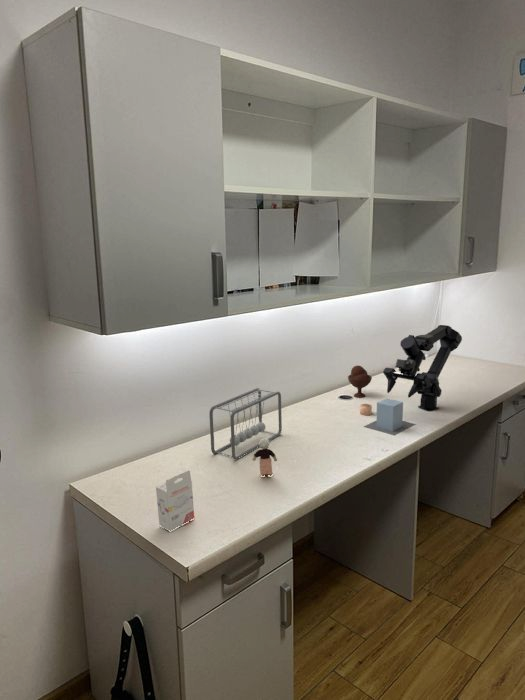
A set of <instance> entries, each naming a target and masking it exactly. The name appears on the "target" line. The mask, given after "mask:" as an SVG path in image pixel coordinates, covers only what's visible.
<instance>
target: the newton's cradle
mask: <svg viewBox="0 0 525 700" xmlns="http://www.w3.org/2000/svg"><path fill="white" fill-rule="evenodd" d="M262 392H266V394H265V395H263V394H262ZM255 394H257V396H258V397H257V398H256V397H255ZM252 395H253V396H252ZM251 396H252V398H254V400H249V397H251ZM275 396H277V397H278V398H277V401H278V402H277V403H278V404H277V405H278V408H277V409H278V413H277V414H278V431H277V433H274V432H270V431H266V427H267V426H266V424H265V423H264V422H263V420H262V419H263V413H264V411H263V410H264V409H263V407H262V406H264V404H265V401H267V400H268V399H270V398H272V397H275ZM245 398H247V401H248V402H247V403H243V400H244V401H246V399H245ZM240 400H241V402H242V403H241V405H240V406H237V405H236V403H238V404H240V402H238V401H240ZM233 403H234V405H232V404H233ZM226 406H227V407H228V408H230V406H233V407H235V408H233V409H226V408H224V407H226ZM253 406H255V407H256V409H258V410H256V411H255V415H257V417H258V422H257V423H255V424H254V422H256V419H257V417H255V418H254V419H255V421H254V422H253V420H251V419H253V416H252V407H253ZM215 409H217V410H223V411H225V412H226V411H227V412H229V414H230V415H229V417H230V438H229V443H228V444H226V445H224V446H222V447H220V448H218V449H217V450H215V434H214V410H215ZM248 409H249V411H250V414H249V417H250V419H249V420H248V421H249V422H248V424H250V421H251V423H252V425H251V426H248V427H247V424H245V426H246V428H245V429H243V428H244V427H240V426H241V425H240V424H238V425H236V427H235V415H236V416H237V417H236V418H237V421H236V423H240V420H239V413H240V412H242V411H243V418H246V410H248ZM208 413H209V431H210V435H209V436H210V451H211V453H212V454H213V455H216V454H215V453H217V454H219V453H220V454H219V455H223V454H224V455H223V456H226V455H227V457H230V456H231V458H232V459H233V460H234V459H237V460H239V459H240V458H239V457H241V456H243V455H244V454H246V453H248V452H250V451H251V452H253V451H255V450H256V448H257V447H258V448H260V447H259V443H257V444H255V445H254V446H252V447H251V448H249V449H247V450H245V451H243V452H242V453H240V454H238V455H236V446H237V447H238V445H240V444H241V443H245V441H246V440H249V439H251V438H253V436H257V435H258V434H259V433H267V434H271V435H272V436H270V437H268V438H267V439H268V440H269V442H271V441H273V440H274V439H276V438H277V436H278V437H279V436H280V435H281V434H282V429H283V428H282V426H283V425H282V419H283V418H282V394H281V392H280V391H270V390H267V389H266V390H265V389H261V388H259V387H256V388H253V389H251V390H249V391H246V392H244V393H241V394H239V395H237V396H234V397H232V398H229V399H227V400H224V401H222V402H220V403H217V404H215V405H213V406H211V407H210V409H209V412H208ZM246 420H247V419H243V422H242V424H244V421H245V423H247V421H246ZM238 427H239V428H242V430H241V429H239V432H238V433H235V431H237V429H238ZM275 437H276V438H275ZM273 438H274V439H273ZM270 440H271V441H270ZM231 445H232V446H231ZM229 446H230V447H231V454H226V453H223V452H222V451H221V450H223V449H225V448H226V449H228V448H230V447H229ZM227 447H228V448H227ZM258 448H257V449H258ZM226 449H225V450H226ZM254 449H255V450H254ZM252 450H253V451H252ZM219 451H221V452H219ZM223 451H224V450H223ZM251 452H250V453H251ZM248 454H249V453H248ZM246 455H247V454H246ZM244 456H245V455H244ZM244 456H243V457H244ZM238 458H239V459H238ZM241 458H242V457H241Z"/></svg>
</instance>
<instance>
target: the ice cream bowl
mask: <svg viewBox="0 0 525 700" xmlns="http://www.w3.org/2000/svg"><path fill="white" fill-rule="evenodd" d="M372 378H373V377H372V375H370V374H368V371H367V370H366V369H365V368H364V367H363V366H361V365H354V366H353V367H352V368H351V371H350V374H349V375H348V376H347V379H348V382H349V383H350V384H351V385H352V386H353V387H354V388H356V389H357V392H356V393H354V394H353V397H354V398H357V399H363V398H365V397H366V395H365V393H363V392H362V389H363V388H366V387H367V386H368V385H369V384H370V383H371V382H372Z"/></svg>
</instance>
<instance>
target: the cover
mask: <svg viewBox="0 0 525 700" xmlns="http://www.w3.org/2000/svg"><path fill="white" fill-rule="evenodd" d="M403 410H404V402H403V401H401V400H396V399H391V398H385V399H383V400H379V401H377V402H376V420H377V424H376V427H378V428H382V429H386V430H389V431H394V430H396V429H398V428H400V427H402V421H404V420H403V418H404V416H403V415H404V411H403Z"/></svg>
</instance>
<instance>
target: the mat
mask: <svg viewBox="0 0 525 700" xmlns="http://www.w3.org/2000/svg"><path fill="white" fill-rule="evenodd" d="M376 424H377V419H376V420H375V421H372V422H370V423H368V424H366V425H363V428H365V429H370V430H374V431H377V432H381V433H385V434H388V435H391V436H396V435H398V434H400V433H402V432H404V431H406V430H408V429H410V428H411V427H413V426H415V425H416V423H412V422H409V421H406V420H403V421H402V427H400V428H398V429H396V430H394V431H389V430H386V429H382V428H378V427H376Z"/></svg>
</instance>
